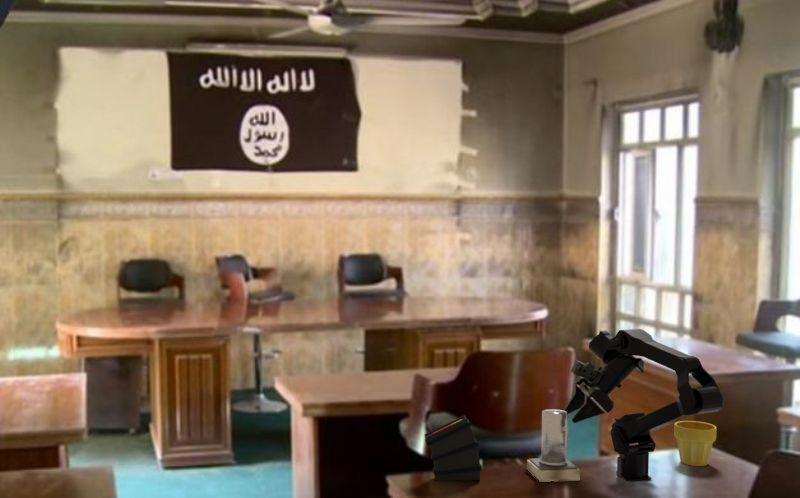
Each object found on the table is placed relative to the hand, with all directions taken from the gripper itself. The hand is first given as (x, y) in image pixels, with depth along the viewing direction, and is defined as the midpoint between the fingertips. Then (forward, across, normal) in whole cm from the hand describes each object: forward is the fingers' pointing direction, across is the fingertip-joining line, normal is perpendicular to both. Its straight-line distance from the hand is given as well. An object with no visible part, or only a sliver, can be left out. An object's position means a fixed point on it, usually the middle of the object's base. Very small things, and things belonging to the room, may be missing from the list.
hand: (568, 417), depth 223 cm
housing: (+10, +3, +5) cm, 12 cm away
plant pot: (-15, -9, +34) cm, 38 cm away
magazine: (+30, +6, -11) cm, 33 cm away
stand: (+13, +3, +7) cm, 14 cm away
